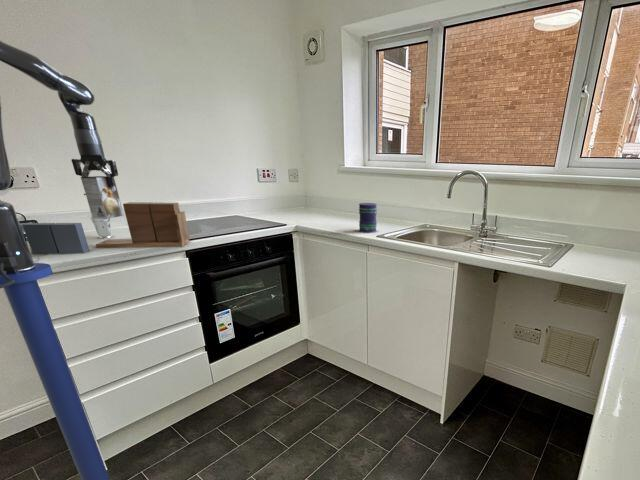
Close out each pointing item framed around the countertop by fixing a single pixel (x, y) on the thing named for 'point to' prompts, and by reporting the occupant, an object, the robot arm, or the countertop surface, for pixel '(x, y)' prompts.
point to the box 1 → (140, 221)
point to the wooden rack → (182, 236)
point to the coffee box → (102, 197)
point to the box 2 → (165, 221)
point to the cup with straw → (101, 226)
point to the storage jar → (367, 217)
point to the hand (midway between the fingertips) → (100, 187)
